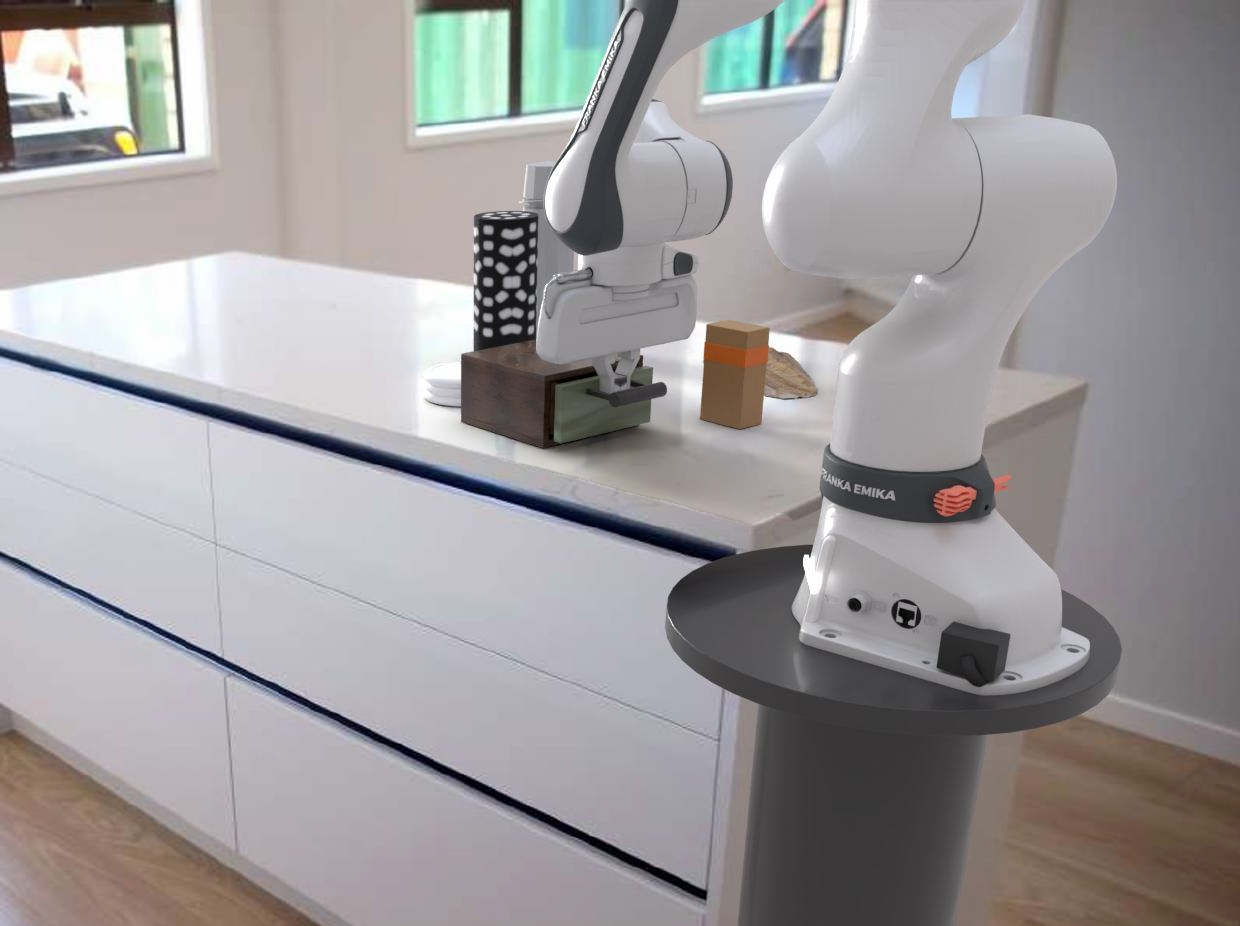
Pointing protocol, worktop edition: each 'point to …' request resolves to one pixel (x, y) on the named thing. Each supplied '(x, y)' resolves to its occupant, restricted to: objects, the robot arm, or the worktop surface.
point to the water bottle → (544, 231)
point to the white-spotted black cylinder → (505, 278)
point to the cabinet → (514, 390)
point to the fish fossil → (786, 377)
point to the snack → (734, 373)
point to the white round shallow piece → (443, 384)
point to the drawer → (600, 405)
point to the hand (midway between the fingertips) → (614, 391)
